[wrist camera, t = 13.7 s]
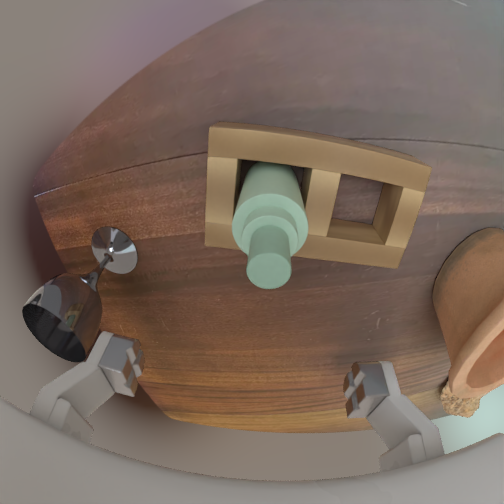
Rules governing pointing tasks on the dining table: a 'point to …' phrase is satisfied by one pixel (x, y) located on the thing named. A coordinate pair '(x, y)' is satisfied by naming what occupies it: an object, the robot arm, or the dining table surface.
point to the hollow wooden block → (318, 190)
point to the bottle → (270, 223)
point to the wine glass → (77, 299)
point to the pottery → (473, 313)
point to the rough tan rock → (459, 403)
